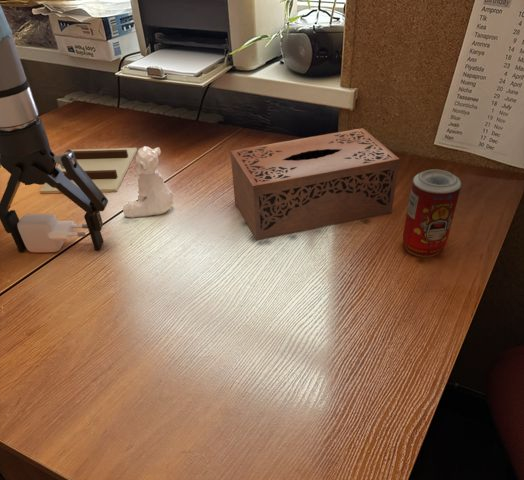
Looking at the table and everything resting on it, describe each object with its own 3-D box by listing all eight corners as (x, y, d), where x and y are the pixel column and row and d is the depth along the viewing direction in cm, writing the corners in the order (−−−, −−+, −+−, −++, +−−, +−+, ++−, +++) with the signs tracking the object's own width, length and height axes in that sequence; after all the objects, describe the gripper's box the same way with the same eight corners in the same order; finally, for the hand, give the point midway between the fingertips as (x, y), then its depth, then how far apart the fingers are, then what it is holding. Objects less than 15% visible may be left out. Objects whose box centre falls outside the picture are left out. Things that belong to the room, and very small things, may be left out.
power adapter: (96, 239, 89) (87, 209, 85) (89, 255, 86) (78, 224, 82) (36, 240, 90) (23, 210, 86) (25, 255, 87) (12, 225, 83)
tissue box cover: (256, 240, 87) (253, 186, 80) (234, 201, 97) (230, 150, 90) (391, 212, 92) (399, 159, 85) (357, 178, 102) (362, 128, 94)
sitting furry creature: (146, 193, 101) (132, 133, 92) (185, 199, 99) (175, 137, 90) (122, 217, 95) (105, 154, 86) (162, 223, 92) (149, 160, 84)
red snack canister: (415, 263, 80) (429, 191, 72) (393, 240, 85) (404, 171, 76) (453, 254, 82) (472, 182, 73) (430, 232, 86) (445, 163, 78)
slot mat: (40, 193, 103) (36, 184, 101) (69, 152, 117) (66, 143, 116) (116, 191, 102) (114, 182, 101) (137, 150, 116) (135, 141, 115)
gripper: (104, 108, 75) (136, 233, 90) (-57, 115, 76) (1, 236, 91) (90, 128, 70) (126, 257, 85) (-82, 134, 71) (-16, 260, 86)
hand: (61, 246), depth 88 cm, fingers open, 13 cm apart
